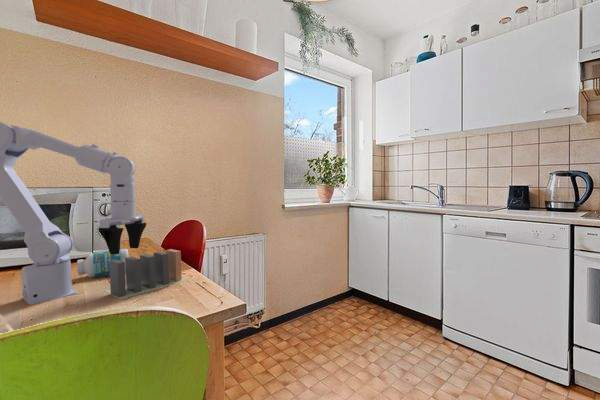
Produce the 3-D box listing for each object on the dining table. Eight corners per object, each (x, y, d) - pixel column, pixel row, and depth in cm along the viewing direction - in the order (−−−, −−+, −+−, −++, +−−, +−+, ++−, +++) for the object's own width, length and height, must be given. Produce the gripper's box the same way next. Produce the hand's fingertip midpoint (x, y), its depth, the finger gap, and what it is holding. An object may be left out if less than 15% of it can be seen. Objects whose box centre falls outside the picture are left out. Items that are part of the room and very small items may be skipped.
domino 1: (119, 297, 73) (117, 263, 73) (110, 293, 76) (109, 260, 76) (126, 295, 75) (124, 262, 74) (117, 291, 78) (116, 259, 77)
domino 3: (150, 288, 80) (148, 257, 79) (141, 285, 83) (139, 255, 82) (155, 287, 81) (154, 256, 80) (146, 283, 84) (145, 253, 83)
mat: (121, 300, 72) (120, 299, 72) (104, 292, 78) (104, 291, 78) (187, 281, 87) (187, 279, 87) (169, 275, 93) (169, 274, 93)
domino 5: (176, 281, 86) (175, 252, 85) (167, 278, 89) (166, 250, 88) (181, 280, 87) (180, 251, 86) (172, 277, 90) (171, 249, 90)
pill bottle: (129, 269, 94) (76, 278, 87) (130, 272, 100) (81, 281, 93) (127, 246, 96) (75, 253, 89) (128, 250, 102) (79, 257, 95)
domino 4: (163, 285, 83) (162, 254, 82) (154, 281, 86) (153, 252, 85) (169, 283, 84) (168, 253, 83) (160, 280, 87) (159, 251, 86)
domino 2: (135, 293, 76) (133, 260, 76) (126, 289, 79) (125, 257, 79) (141, 291, 78) (140, 259, 77) (132, 287, 81) (131, 256, 80)
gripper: (116, 202, 73) (118, 257, 74) (153, 200, 88) (154, 245, 88) (91, 202, 74) (93, 256, 75) (131, 200, 89) (132, 245, 89)
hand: (124, 250), depth 82 cm, fingers open, 7 cm apart
